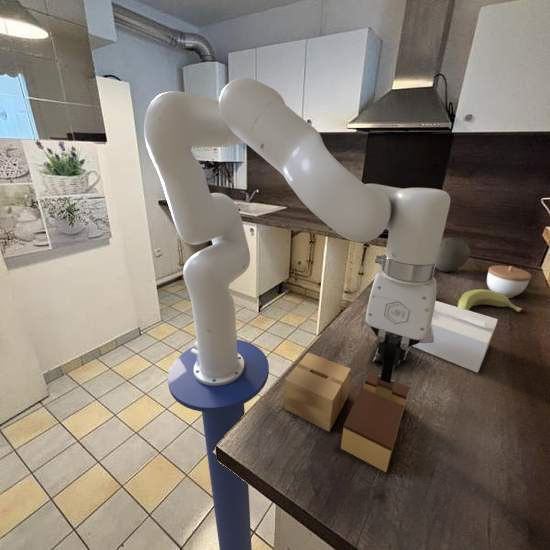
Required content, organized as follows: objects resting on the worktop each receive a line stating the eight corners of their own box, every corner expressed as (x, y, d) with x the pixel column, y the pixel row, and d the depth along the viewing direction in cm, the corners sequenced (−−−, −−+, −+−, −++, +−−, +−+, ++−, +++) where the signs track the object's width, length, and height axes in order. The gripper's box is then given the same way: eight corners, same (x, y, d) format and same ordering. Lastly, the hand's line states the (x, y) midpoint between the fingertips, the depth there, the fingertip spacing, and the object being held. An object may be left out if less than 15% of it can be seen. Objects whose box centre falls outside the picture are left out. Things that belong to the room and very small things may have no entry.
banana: (457, 280, 104) (521, 293, 99) (451, 291, 107) (512, 305, 103) (464, 305, 93) (535, 322, 89) (456, 317, 97) (524, 334, 93)
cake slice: (361, 402, 62) (365, 380, 60) (365, 393, 65) (369, 371, 62) (401, 419, 58) (406, 396, 56) (404, 409, 61) (409, 387, 58)
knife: (371, 410, 59) (383, 340, 52) (374, 403, 61) (386, 334, 54) (386, 417, 58) (401, 345, 51) (388, 409, 60) (403, 339, 52)
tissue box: (398, 314, 96) (404, 284, 92) (488, 346, 80) (500, 311, 76) (379, 332, 86) (384, 300, 82) (477, 372, 71) (491, 335, 66)
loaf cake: (340, 448, 52) (343, 424, 50) (358, 410, 60) (361, 388, 58) (386, 472, 49) (391, 448, 46) (398, 428, 56) (404, 405, 54)
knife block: (284, 409, 60) (285, 379, 57) (306, 379, 68) (307, 352, 65) (329, 432, 56) (332, 400, 52) (347, 397, 63) (351, 368, 60)
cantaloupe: (449, 278, 122) (458, 244, 117) (421, 267, 134) (428, 236, 128) (471, 273, 128) (480, 240, 122) (442, 263, 140) (449, 232, 134)
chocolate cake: (400, 377, 70) (422, 333, 72) (373, 361, 72) (394, 319, 74) (393, 377, 78) (412, 338, 81) (368, 362, 81) (388, 325, 83)
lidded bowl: (474, 288, 114) (482, 262, 110) (498, 284, 117) (507, 259, 113) (505, 303, 103) (516, 274, 99) (531, 298, 106) (542, 271, 102)
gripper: (352, 265, 48) (342, 355, 55) (464, 287, 40) (434, 389, 47) (366, 253, 54) (355, 336, 61) (465, 270, 46) (439, 363, 53)
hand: (390, 358), depth 54 cm, fingers closed on knife, 1 cm apart
